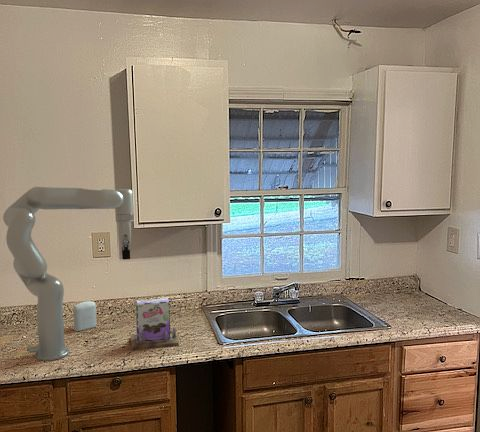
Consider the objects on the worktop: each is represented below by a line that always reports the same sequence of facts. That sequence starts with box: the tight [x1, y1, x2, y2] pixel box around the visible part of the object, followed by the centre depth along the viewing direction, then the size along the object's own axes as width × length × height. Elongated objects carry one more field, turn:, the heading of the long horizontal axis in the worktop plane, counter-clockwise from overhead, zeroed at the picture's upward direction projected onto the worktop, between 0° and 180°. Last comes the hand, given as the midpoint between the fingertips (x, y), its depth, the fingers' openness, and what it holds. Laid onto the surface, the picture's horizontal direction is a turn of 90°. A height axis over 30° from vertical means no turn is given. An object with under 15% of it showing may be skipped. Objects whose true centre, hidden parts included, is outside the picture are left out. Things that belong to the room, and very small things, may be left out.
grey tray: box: [130, 326, 180, 351], centre depth 206 cm, size 19×14×5 cm
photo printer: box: [72, 300, 98, 332], centre depth 222 cm, size 10×4×12 cm, turn 134°
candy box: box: [135, 297, 171, 342], centre depth 205 cm, size 14×6×16 cm, turn 104°
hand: (126, 257), depth 212 cm, fingers open, 9 cm apart
